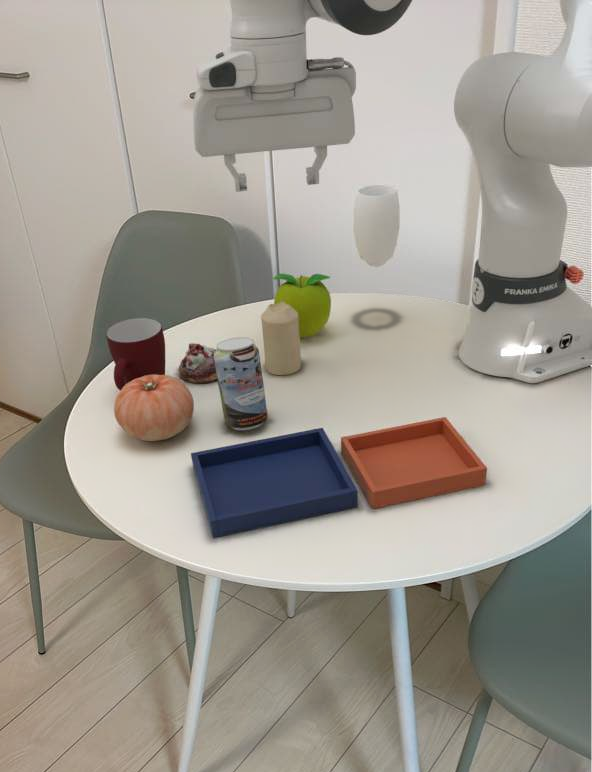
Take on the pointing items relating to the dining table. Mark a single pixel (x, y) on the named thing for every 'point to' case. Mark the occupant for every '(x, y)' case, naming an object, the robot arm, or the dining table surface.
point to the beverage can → (240, 383)
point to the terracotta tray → (412, 462)
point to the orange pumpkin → (154, 407)
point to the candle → (281, 339)
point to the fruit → (306, 301)
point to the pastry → (198, 364)
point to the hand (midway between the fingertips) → (277, 186)
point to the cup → (376, 223)
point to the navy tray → (272, 482)
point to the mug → (136, 349)
